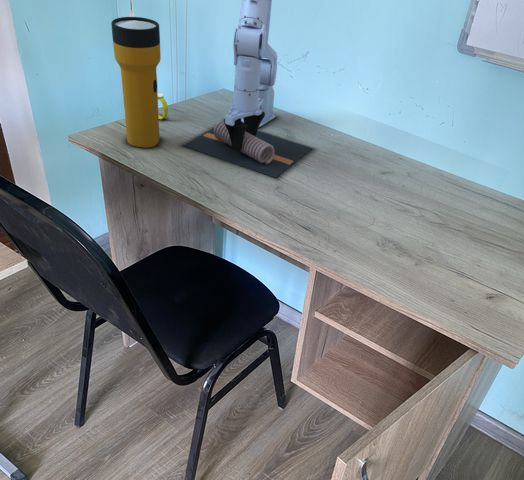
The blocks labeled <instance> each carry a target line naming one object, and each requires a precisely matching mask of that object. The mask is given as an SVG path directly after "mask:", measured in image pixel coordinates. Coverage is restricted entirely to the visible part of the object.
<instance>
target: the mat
mask: <svg viewBox="0 0 524 480" xmlns="http://www.w3.org/2000/svg"><path fill="white" fill-rule="evenodd" d="M214 128H215V127H213V128H212V129H209V130H207V131H206V132H204V133H203V134H201V135H199V136H198V137H195V138H194V139H192V140H190V141H188V142H187V143H185V144H183V145H182V146H183V147H185V148H187V149H190V150H193V151H196V152H199V153H202V154H205V155H208V156H209V157H213V158H216V159H219V160H222V161H225V162H228V163H231V164H234V165H237V166H240V167H243V168H245V169H249V170H252V171H254V172H257V173H260V174H263V175H266V176H269V177H271V178H275V179H277V178H278V177H279V176H281V175H282V174H283V173H284V172H286V171H287V170H288V169H290V168H291V167H292V166H293V165H295V164H296V163H297V162H299V160H301V159H302V158H303V157H305V156H306V155H307V154H308V153H310V152H311V151H312V150H313V149H314V148H313V147H310V146H308V145H307V146H306V145H303V144H300V143H298V142H294V141H291V140H288V139H285V138H281V137H279V136H276V135H273V134H270V133H266V132H263V131H259V130H257V133H256V137H257V138H259V139H261V140H263V141H265V142H266V143H269V144H270V145H272V146H273V147H274V157H273V159H272V161H271V162H270V163H269V164H267V165H266V164H265V163H260V162H259V161H257V160H255V159H254V158H251V157H250V156H248V155H246V154H244V153H243V152H241V151H240V152H239V151H236V150H233V149H232V146H230V145H228V144H226V143H224V142H223V141H221V140H219V139H217V138H216V137H215V136H214Z"/></svg>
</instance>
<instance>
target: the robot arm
mask: <svg viewBox="0 0 524 480" xmlns="http://www.w3.org/2000/svg"><path fill="white" fill-rule="evenodd" d="M272 5H273V0H241V5H240V13H239V19H238V26H237V27H236V28H234V29H235V30H234V34H233V41H232V42H233V44H232V48H233V65H234V81H233V83H234V84H233V102H232V103H233V104H232V105H231V108H230V109H229V111H228V113H227V114H225V118H224V119H223V120H224V124H225V126H226V128H227V130H228V133H229V136H230V140H231V145H232V149H233V150H236V151H239V152H240V151H241V149H242V144H243V138H244V134H245V131H246V132H248V133H249V134H251V135H253V136H255V137H256V133H257V131H259V128H260V127H262V126H264V125H265V124H268V123H269V122H270V121H272V120H274V119H275V118H276V115H275V114H273V112H274V102H275V89H274V87H273V86H275V85H276V79H277V70H278V55H277V51H276V50H275V48H273V47H272V46H271V45H270V43H269V37H270V36H269V35H270V26H271V25H270V24H271V16H272V15H271V13H272Z"/></svg>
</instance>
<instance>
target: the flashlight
mask: <svg viewBox="0 0 524 480" xmlns="http://www.w3.org/2000/svg"><path fill="white" fill-rule="evenodd" d="M160 33H161V32H160V24H159V22H158V21H156V20H154V19H151V18H146V17H142V16H121V17H117V18H114V19H113V20H111V35H112V45H113V53H114V54H113V55H114V60H115V61H116V63H117V64H118V66H119V67H120V76H121V87H122V88H121V89H122V97H123V99H122V100H123V109H124V119H125V120H124V121H125V130H126V131H125V133H126V139H127V140H126V141H127V143H128V145H130V146H133V147H137V148H143V149H144V148H145V149H149V148H153V147H155V146H157V145H158V143H159V142H160V121H159V120H160V119H159V115H160V114H159V99H158V93H159V92H158V91H159V90H158V76H157V75H158V73H157V67H158V65H159V64H160V62H161V59H162V57H161V55H162V54H161V35H160Z"/></svg>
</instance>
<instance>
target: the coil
mask: <svg viewBox="0 0 524 480" xmlns="http://www.w3.org/2000/svg"><path fill="white" fill-rule="evenodd" d="M213 128H214V136H215V137H216V138H217V139H219V140H221V141H223V142H224V143H226V144H228V145H230V146H232V145H231V140H230V136H229V133H228V130H227V128H226V126H225V124H224V119H223V120H219V121H217V123H216V124H215V126H214V127H213ZM241 152H243V153H244V154H246V155H248V156H250V157H251V158H254V159H255V160H257V161H259V162H260V163H265V164H266V165H267V164H269V163H270V162H271V161H272V159H273V157H274V147H273V146H272V145H270V144H269V143H266V142H265V141H263V140H261V139H259V138H257V137H255V136H253V135H251V134H249V133H248V132H246V131H245V134H244V138H243V144H242V149H241Z"/></svg>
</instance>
